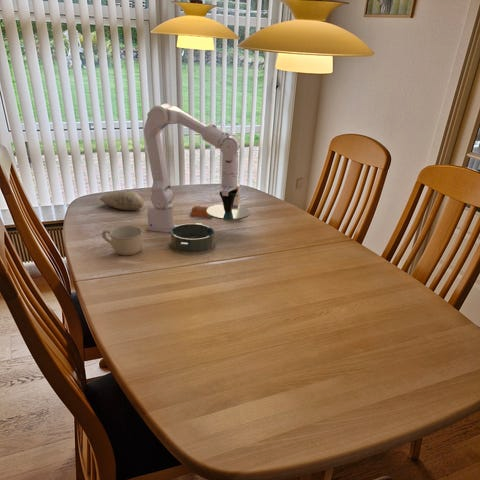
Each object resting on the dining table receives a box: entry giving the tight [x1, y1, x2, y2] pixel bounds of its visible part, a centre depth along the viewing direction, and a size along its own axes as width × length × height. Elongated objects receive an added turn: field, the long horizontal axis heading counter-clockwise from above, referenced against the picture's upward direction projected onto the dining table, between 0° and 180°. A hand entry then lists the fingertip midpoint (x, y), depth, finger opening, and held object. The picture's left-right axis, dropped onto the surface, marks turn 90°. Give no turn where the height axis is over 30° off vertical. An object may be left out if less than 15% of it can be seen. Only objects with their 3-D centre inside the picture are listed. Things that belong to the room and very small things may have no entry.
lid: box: [207, 203, 251, 221], centre depth 162 cm, size 16×16×6 cm
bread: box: [190, 205, 211, 219], centre depth 185 cm, size 8×5×4 cm, turn 79°
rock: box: [99, 190, 145, 211], centre depth 188 cm, size 8×11×20 cm
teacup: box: [101, 224, 144, 256], centre depth 150 cm, size 14×11×8 cm
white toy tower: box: [233, 182, 241, 206], centre depth 181 cm, size 6×6×14 cm
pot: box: [169, 222, 215, 254], centre depth 158 cm, size 15×21×6 cm
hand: (228, 209), depth 163 cm, fingers closed on lid, 2 cm apart
